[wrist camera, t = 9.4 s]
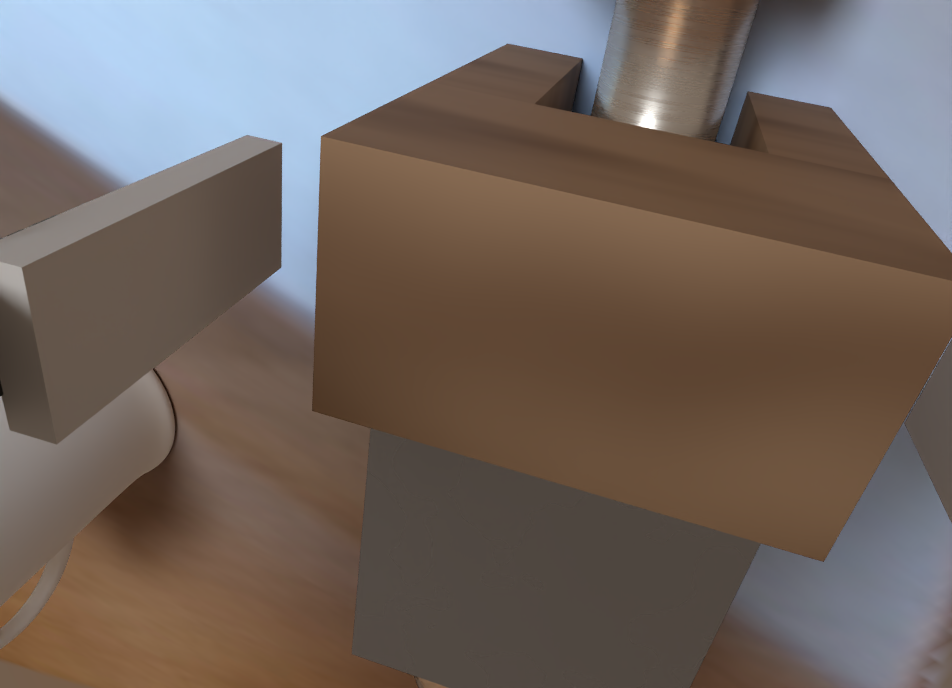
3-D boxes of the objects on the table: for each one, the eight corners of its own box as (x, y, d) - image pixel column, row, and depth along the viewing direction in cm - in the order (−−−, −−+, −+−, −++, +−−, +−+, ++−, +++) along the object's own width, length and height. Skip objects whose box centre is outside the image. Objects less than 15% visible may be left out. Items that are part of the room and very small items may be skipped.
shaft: (677, 402, 24) (671, 533, 19) (496, 353, 25) (440, 464, 20) (850, -81, 17) (921, -96, 11) (585, -123, 18) (536, -154, 12)
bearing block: (666, 533, 27) (654, 759, 20) (443, 467, 29) (351, 653, 21) (756, 304, 22) (787, 490, 15) (479, 237, 24) (375, 374, 16)
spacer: (765, 275, 22) (823, 561, 12) (481, 208, 23) (312, 410, 13) (830, 107, 19) (980, 287, 9) (508, 43, 20) (321, 136, 10)
